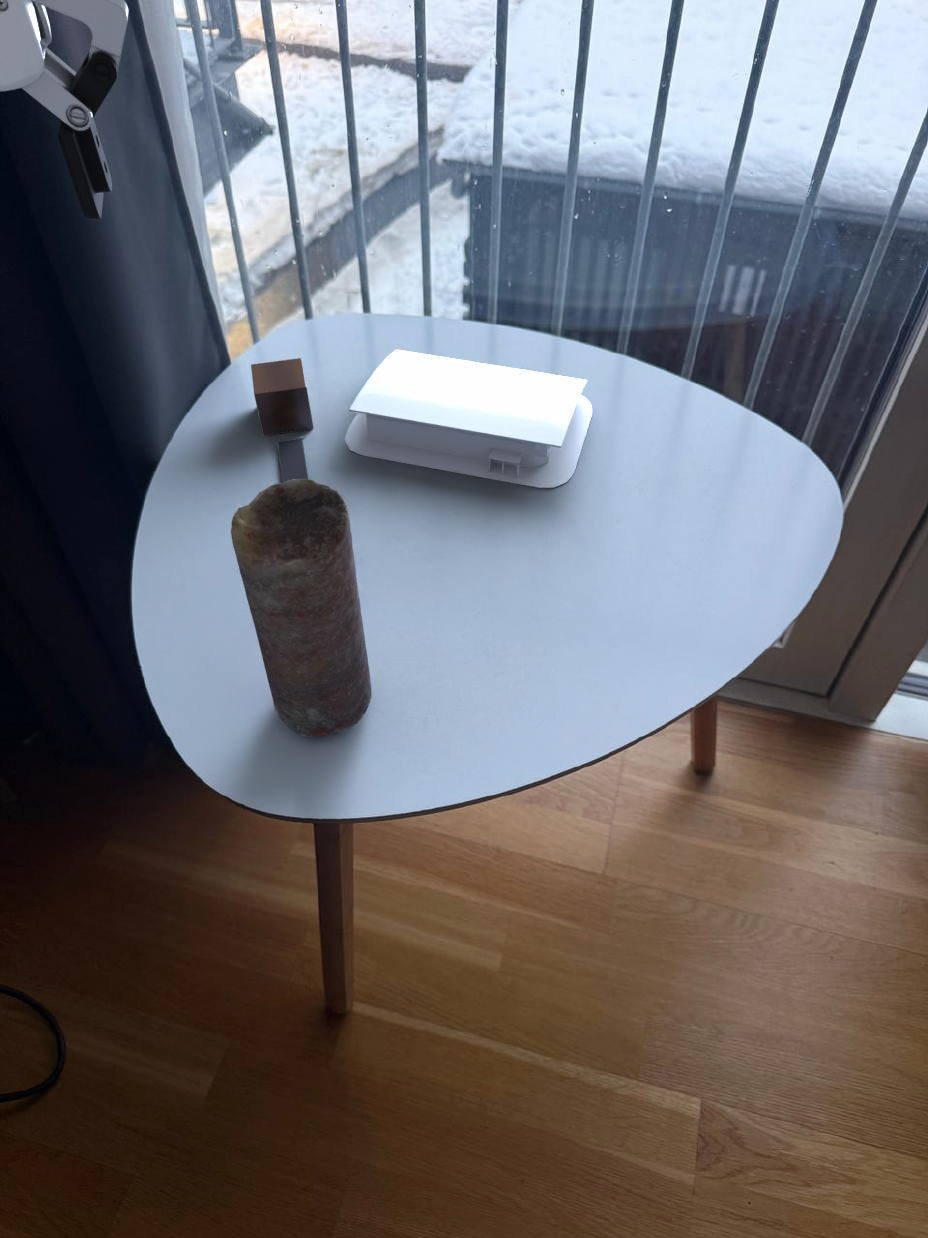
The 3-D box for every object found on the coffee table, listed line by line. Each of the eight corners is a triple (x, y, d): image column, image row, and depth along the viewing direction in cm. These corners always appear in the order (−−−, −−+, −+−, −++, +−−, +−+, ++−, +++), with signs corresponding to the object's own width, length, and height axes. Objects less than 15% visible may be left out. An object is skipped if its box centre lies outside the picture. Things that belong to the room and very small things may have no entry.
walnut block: (263, 436, 90) (254, 394, 86) (260, 405, 93) (250, 364, 89) (313, 429, 91) (306, 387, 87) (308, 399, 94) (301, 357, 90)
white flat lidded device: (567, 493, 84) (571, 460, 81) (336, 450, 88) (331, 417, 85) (598, 395, 94) (602, 363, 91) (387, 361, 98) (384, 329, 95)
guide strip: (305, 656, 72) (304, 654, 72) (277, 443, 89) (277, 441, 89) (335, 651, 73) (334, 649, 72) (302, 440, 90) (301, 437, 89)
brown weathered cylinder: (393, 716, 69) (370, 526, 53) (307, 765, 66) (256, 579, 51) (343, 651, 73) (308, 456, 57) (260, 693, 70) (200, 501, 55)
